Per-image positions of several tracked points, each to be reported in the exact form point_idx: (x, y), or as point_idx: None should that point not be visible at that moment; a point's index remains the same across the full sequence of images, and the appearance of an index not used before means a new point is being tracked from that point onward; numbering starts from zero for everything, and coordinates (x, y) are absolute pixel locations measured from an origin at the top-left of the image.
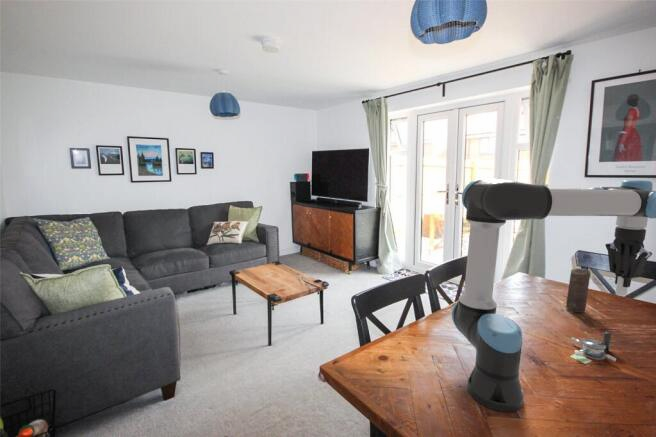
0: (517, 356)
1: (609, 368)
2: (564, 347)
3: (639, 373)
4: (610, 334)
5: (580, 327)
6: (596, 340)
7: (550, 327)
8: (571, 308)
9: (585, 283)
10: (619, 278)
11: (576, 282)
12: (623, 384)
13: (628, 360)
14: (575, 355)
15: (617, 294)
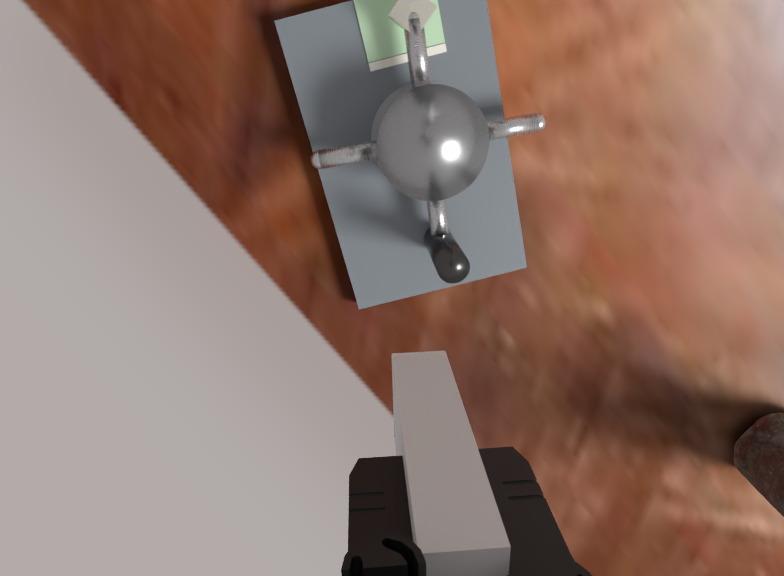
0: None
1: None
2: (529, 71)
3: (272, 229)
4: (437, 267)
5: (643, 328)
6: (454, 190)
7: (706, 179)
8: (778, 421)
9: None
10: (469, 521)
11: None
12: (204, 68)
13: None
14: (431, 24)
15: (423, 356)
